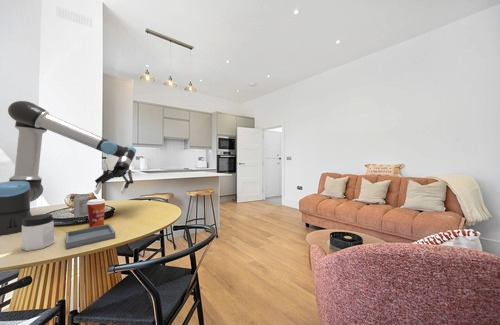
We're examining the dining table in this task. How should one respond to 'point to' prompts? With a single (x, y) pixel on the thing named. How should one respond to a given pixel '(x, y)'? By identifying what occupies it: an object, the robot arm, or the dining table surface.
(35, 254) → the dining table surface
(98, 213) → the paper cup
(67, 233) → the tray
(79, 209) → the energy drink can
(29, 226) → the jar
